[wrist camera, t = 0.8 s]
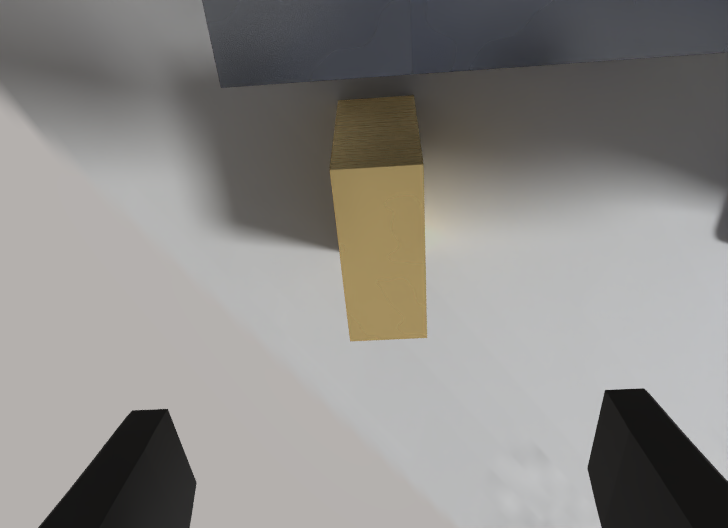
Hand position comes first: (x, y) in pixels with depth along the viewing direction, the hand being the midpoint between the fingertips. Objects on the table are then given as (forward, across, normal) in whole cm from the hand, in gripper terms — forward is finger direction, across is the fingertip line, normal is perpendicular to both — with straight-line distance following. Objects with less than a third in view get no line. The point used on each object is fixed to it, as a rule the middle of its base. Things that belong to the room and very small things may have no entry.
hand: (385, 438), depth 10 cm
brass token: (+9, 0, 0) cm, 9 cm away
